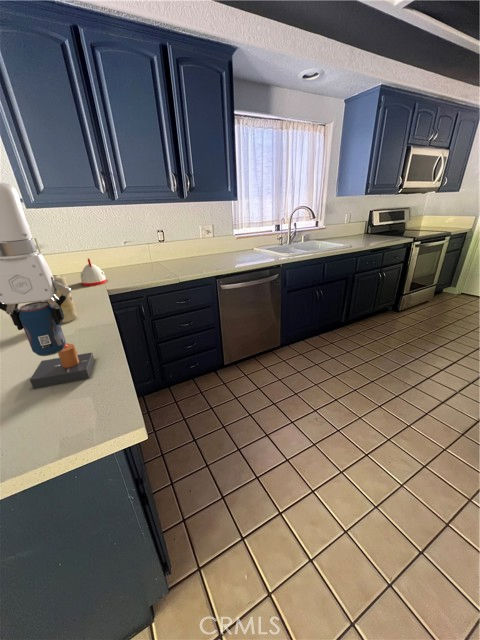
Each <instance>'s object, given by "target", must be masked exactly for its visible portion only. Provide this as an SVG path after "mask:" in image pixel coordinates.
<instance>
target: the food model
mask: <svg viewBox="0 0 480 640" xmlns="http://www.w3.org/2000/svg"><path fill="white" fill-rule="evenodd" d="M52 275H53V278H54V280H55V281H57V282H59V283H61V284H63V285H65V286H67V287H69V285H68V283H67V280H66V277H65V276H64V275H59V274H58V275H55V274H52ZM61 294H62V291H60V290H58V289H57V293H56V294H55V295H56V296H57V297H58V298H60V296H61ZM61 307H62V311H63V314H64V320H63V321H62V323H61V324H63V323H64V324H67V323H69V322H71V321H74V320H75V319H76V318H77V317H78V314H77V313H76V308H75V304H74V301H73V298H72V294H71V292H70V293H69V295H68V297H67V298H66V300H65V301H64V302H63V303H62V305H61Z"/></svg>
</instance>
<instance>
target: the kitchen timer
mask: <svg viewBox="0 0 480 640" xmlns="http://www.w3.org/2000/svg"><path fill="white" fill-rule="evenodd" d="M80 280H81V285H82V286H85V287H91V286H93V287H95V286H100V285H102V284H105V283H107V278H106V275H105V272H104V270H103V269H101V268H100V267H99V266H97V265H96V264H93V263H91V259H90V258H87V264H86V265H85V266H84V267H83V268H82V271H81V272H80Z"/></svg>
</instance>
